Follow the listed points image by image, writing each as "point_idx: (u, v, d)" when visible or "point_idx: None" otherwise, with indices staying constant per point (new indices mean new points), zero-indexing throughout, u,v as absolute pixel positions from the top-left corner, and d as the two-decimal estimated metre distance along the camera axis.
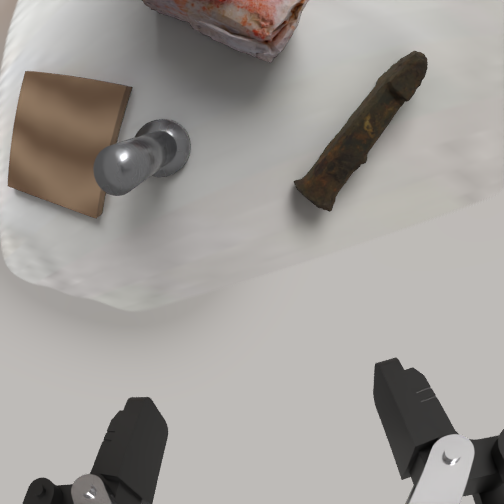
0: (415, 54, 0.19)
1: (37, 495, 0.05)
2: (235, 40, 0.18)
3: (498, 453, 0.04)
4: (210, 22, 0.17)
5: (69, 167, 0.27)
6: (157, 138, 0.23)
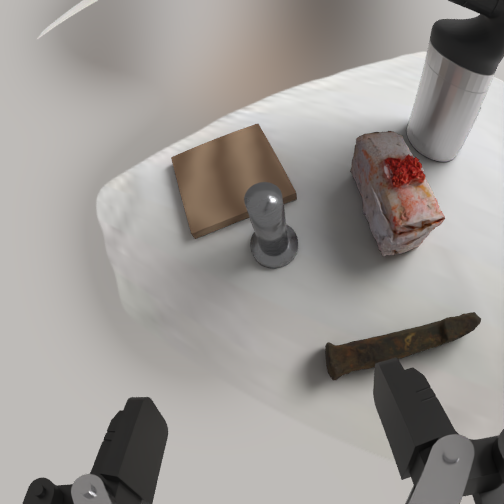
0: (474, 313, 0.26)
1: (37, 495, 0.05)
2: (380, 216, 0.29)
3: (498, 453, 0.04)
4: None
5: (216, 193, 0.39)
6: (286, 227, 0.32)
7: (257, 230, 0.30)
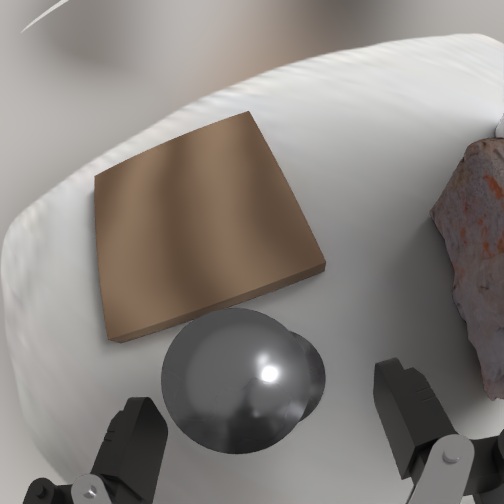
0: None
1: (37, 495, 0.05)
2: None
3: (498, 453, 0.04)
4: None
5: (156, 254, 0.19)
6: None
7: None
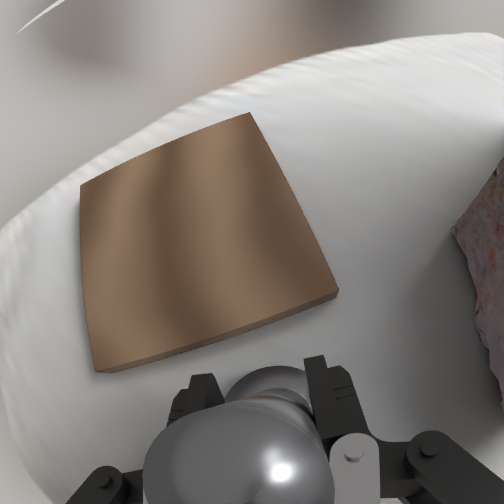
0: None
1: (99, 485, 0.06)
2: None
3: (411, 466, 0.05)
4: None
5: (146, 277, 0.16)
6: None
7: None
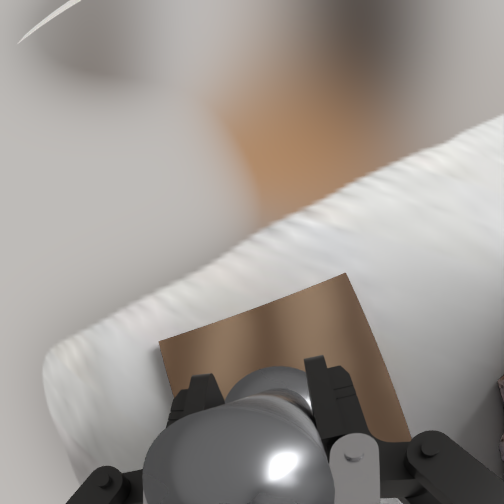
0: None
1: (99, 485, 0.06)
2: None
3: (411, 466, 0.05)
4: None
5: None
6: None
7: None
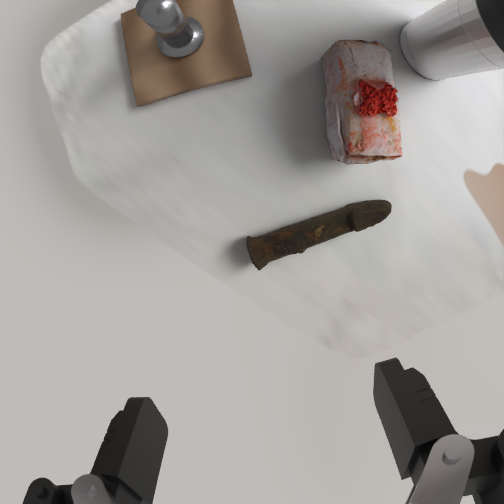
0: (384, 204, 0.34)
1: (37, 495, 0.05)
2: (337, 134, 0.28)
3: (498, 453, 0.04)
4: (338, 111, 0.28)
5: (165, 61, 0.30)
6: (186, 24, 0.24)
7: None
